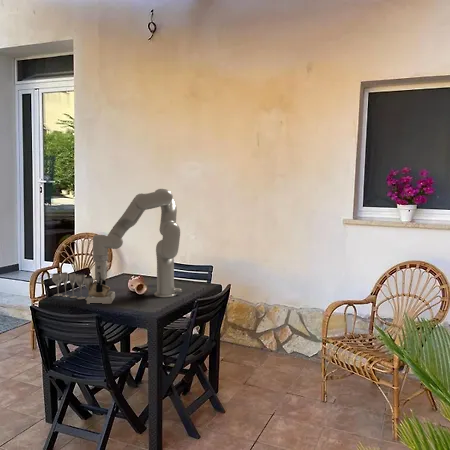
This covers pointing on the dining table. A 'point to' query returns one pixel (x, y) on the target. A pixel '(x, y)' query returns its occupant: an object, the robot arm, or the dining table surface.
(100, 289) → the robot arm
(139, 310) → the dining table surface
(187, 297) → the dining table surface
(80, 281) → the goblet set
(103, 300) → the grey square tray
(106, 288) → the small crate
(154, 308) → the dining table surface
